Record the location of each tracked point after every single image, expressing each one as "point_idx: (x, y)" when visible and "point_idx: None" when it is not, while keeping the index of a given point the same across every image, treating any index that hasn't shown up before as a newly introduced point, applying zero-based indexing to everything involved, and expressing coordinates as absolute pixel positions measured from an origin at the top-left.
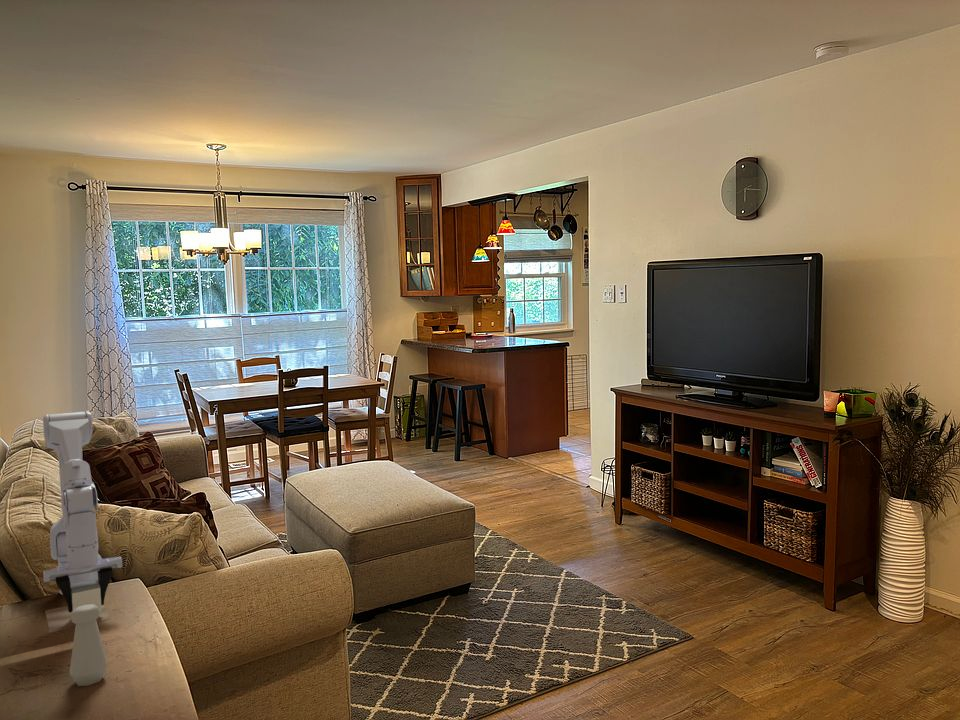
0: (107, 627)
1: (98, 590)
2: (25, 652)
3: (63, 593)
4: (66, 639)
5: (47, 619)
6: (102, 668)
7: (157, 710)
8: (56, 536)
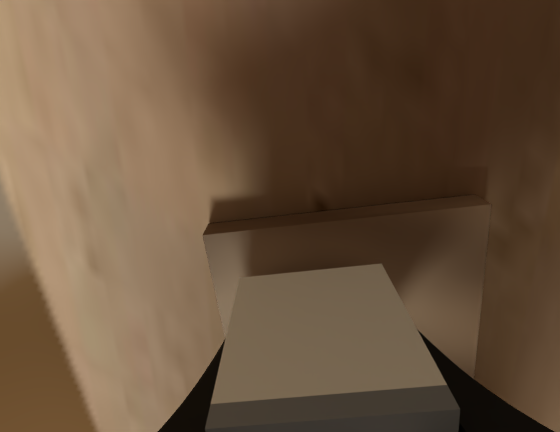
0: (221, 193)
1: (229, 384)
2: None
3: (517, 411)
4: (408, 134)
5: None
6: None
7: None
8: None
